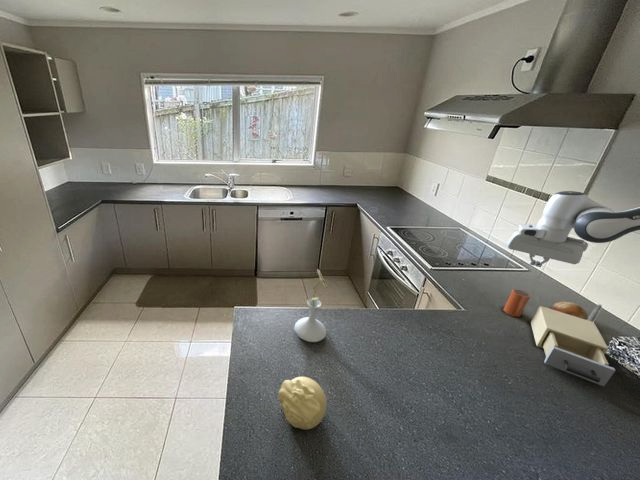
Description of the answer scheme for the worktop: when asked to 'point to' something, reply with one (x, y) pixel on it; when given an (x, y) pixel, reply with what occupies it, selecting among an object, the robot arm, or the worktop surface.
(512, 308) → the cup
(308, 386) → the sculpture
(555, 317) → the box
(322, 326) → the flower in vase
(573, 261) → the robot arm
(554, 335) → the drawer
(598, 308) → the screw
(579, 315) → the bread roll
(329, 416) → the worktop surface
